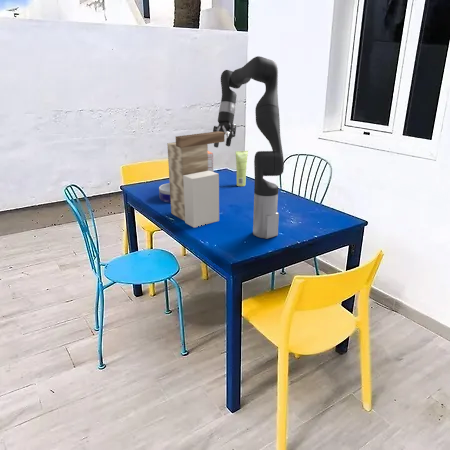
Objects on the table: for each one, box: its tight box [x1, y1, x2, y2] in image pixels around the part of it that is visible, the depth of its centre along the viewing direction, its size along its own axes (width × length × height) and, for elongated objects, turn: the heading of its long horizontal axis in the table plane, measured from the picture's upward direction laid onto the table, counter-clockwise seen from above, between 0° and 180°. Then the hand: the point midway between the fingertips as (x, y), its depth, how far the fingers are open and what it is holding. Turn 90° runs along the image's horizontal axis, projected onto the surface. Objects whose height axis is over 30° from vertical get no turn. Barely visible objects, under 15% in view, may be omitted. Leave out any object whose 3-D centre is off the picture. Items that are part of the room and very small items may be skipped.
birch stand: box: [166, 141, 209, 222], centre depth 172 cm, size 12×12×32 cm
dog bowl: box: [158, 182, 171, 203], centre depth 199 cm, size 15×15×6 cm
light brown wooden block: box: [175, 131, 225, 148], centre depth 164 cm, size 4×22×4 cm, turn 127°
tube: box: [235, 150, 249, 187], centre depth 216 cm, size 6×5×20 cm
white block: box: [183, 171, 220, 229], centre depth 165 cm, size 7×13×21 cm, turn 127°
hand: (221, 146), depth 187 cm, fingers open, 8 cm apart
